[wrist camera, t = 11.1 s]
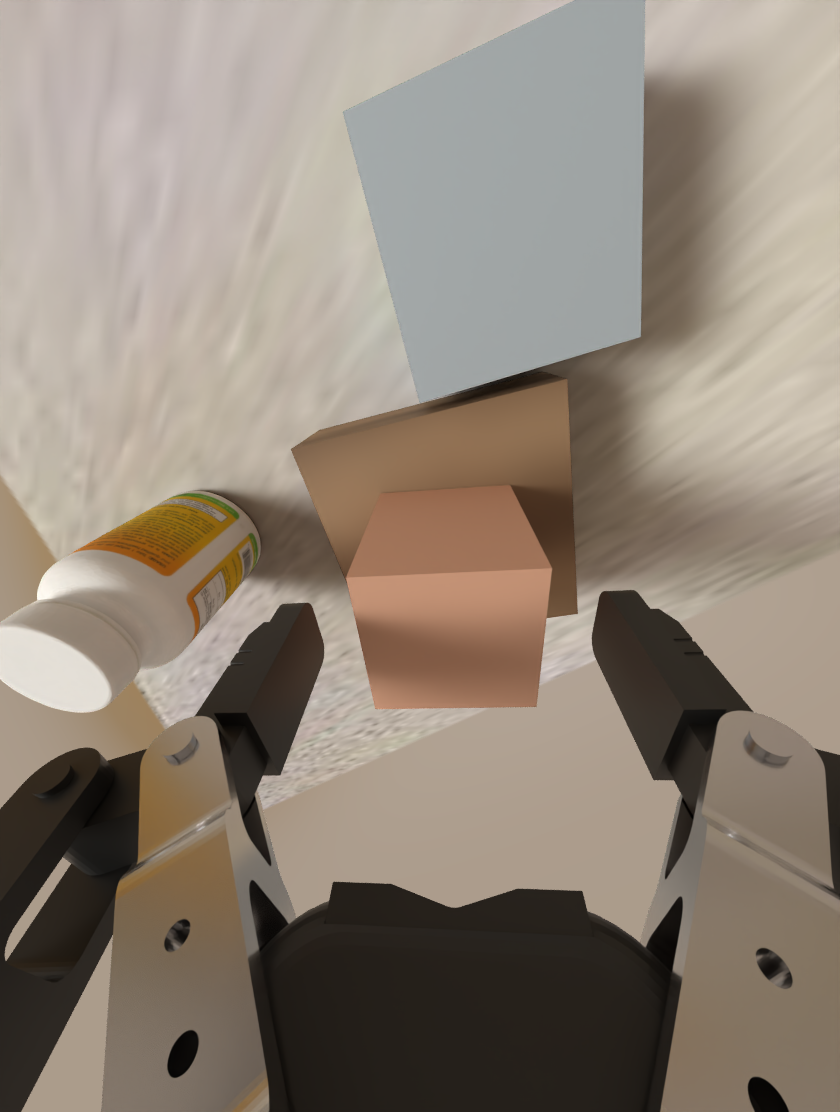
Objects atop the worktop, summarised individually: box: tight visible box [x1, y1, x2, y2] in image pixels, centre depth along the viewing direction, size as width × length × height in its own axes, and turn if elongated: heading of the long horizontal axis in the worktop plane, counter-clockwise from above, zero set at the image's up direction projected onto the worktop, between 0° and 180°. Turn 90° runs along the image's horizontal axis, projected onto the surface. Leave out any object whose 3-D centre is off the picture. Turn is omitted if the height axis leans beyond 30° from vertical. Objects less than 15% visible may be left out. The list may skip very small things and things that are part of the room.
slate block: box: [343, 0, 645, 403], centre depth 12 cm, size 7×7×4 cm
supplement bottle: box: [0, 491, 261, 712], centre depth 16 cm, size 5×5×10 cm
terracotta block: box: [346, 485, 552, 709], centre depth 13 cm, size 5×5×6 cm
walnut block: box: [291, 372, 578, 618], centre depth 17 cm, size 10×10×4 cm
